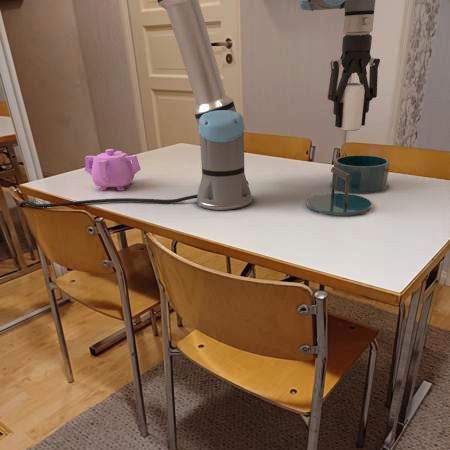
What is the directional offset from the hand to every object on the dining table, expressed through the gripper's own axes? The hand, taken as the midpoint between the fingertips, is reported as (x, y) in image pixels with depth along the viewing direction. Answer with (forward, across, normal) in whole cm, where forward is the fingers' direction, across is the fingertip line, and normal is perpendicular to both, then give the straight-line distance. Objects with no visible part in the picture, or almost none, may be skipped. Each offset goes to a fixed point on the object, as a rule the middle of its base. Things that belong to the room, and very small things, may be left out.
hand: (349, 125), depth 134 cm
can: (+1, 0, 0) cm, 1 cm away
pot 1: (+17, -69, +23) cm, 75 cm away
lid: (+16, -11, -20) cm, 28 cm away
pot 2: (+17, +3, -4) cm, 18 cm away
